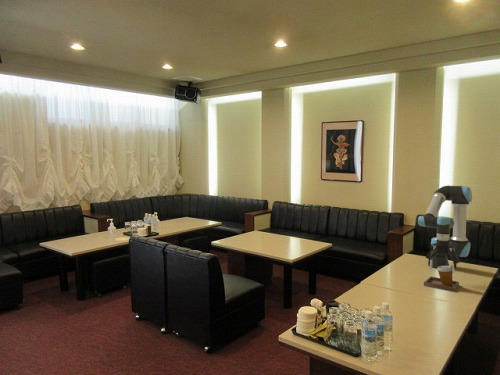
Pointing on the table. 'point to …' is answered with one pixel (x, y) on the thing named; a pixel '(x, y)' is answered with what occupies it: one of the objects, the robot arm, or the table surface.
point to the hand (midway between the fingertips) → (441, 270)
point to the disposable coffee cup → (445, 275)
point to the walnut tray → (440, 284)
